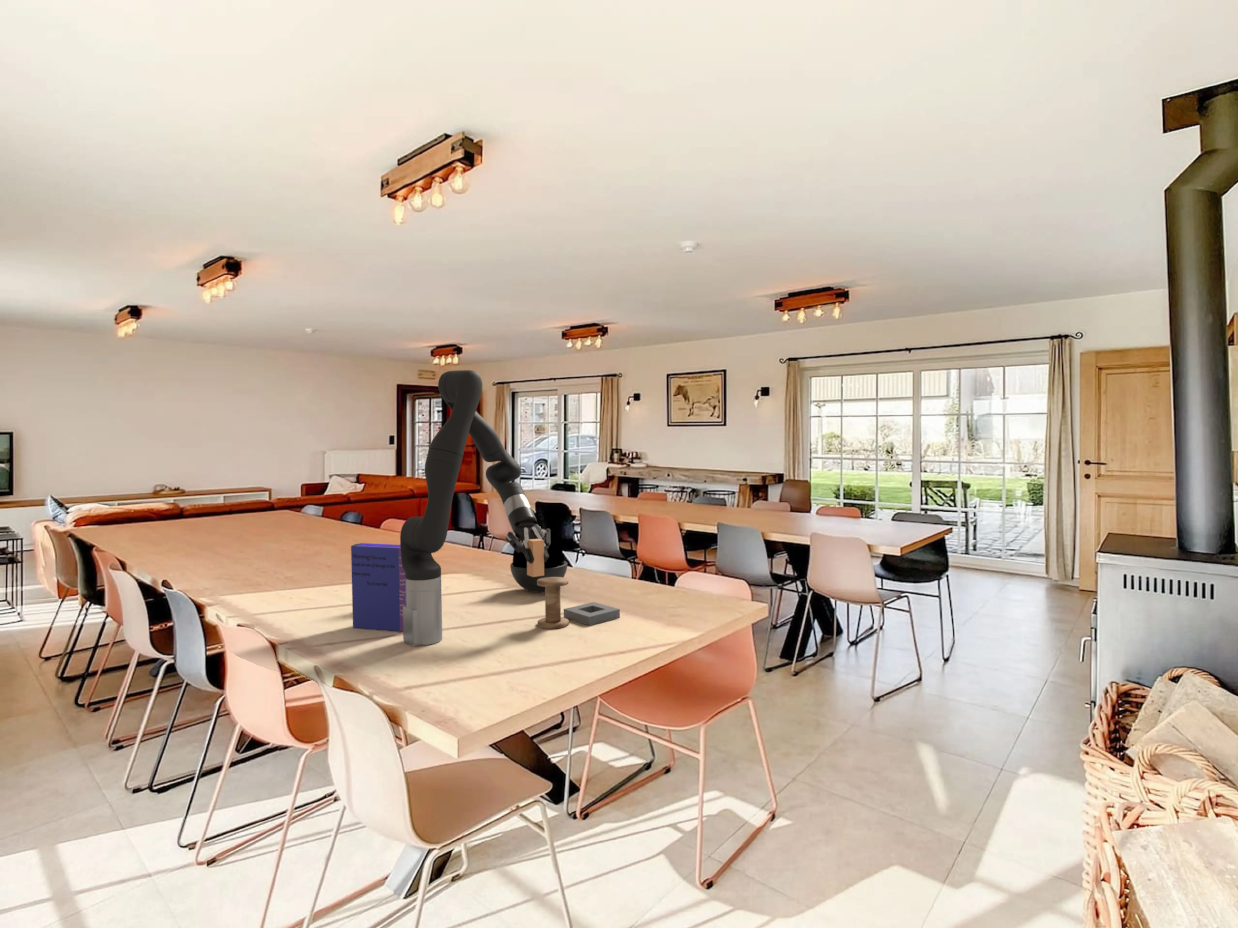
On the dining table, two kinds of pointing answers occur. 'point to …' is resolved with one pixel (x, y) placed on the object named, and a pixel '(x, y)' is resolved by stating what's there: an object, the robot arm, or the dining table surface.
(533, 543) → the orange rectangular block
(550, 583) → the bobbin
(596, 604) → the block with square hole
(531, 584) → the bowl of black rocks
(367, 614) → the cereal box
